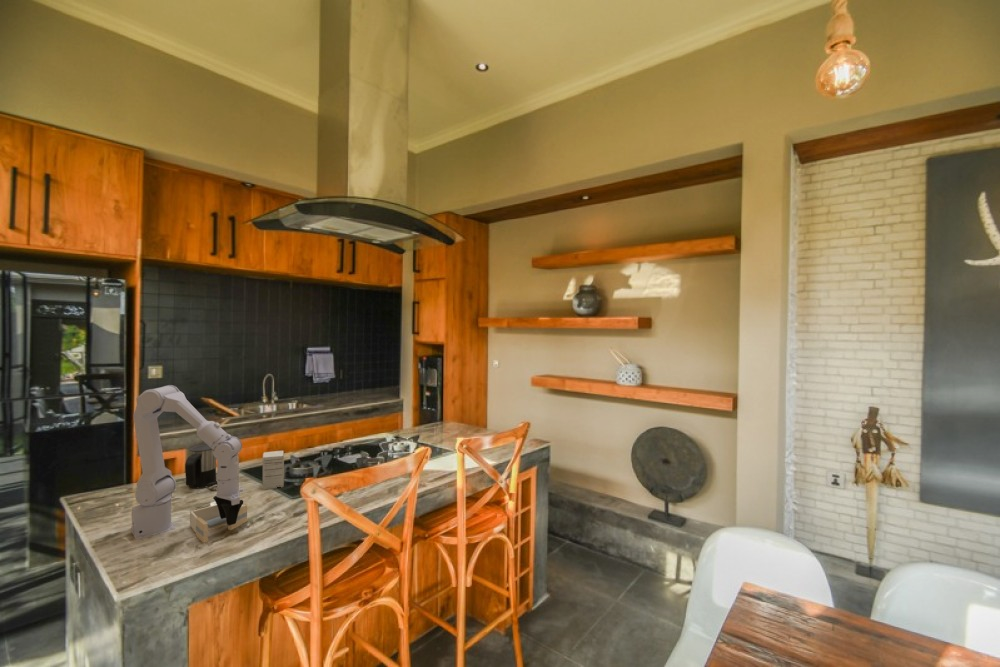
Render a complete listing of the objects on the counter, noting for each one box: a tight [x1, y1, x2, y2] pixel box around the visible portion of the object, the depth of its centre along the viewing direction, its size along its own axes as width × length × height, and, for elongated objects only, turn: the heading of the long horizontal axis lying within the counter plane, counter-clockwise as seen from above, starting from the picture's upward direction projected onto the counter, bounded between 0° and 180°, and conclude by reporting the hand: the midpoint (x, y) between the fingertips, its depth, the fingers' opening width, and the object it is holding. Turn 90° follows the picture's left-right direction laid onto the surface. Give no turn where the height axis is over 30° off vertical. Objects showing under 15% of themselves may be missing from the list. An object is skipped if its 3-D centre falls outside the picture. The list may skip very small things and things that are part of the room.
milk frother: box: [184, 443, 217, 489], centre depth 171 cm, size 14×16×15 cm
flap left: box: [195, 517, 209, 544], centre depth 129 cm, size 7×1×6 cm, turn 51°
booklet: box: [205, 517, 226, 528], centre depth 139 cm, size 6×4×1 cm
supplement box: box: [262, 450, 285, 491], centre depth 172 cm, size 7×7×13 cm
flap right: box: [227, 503, 248, 531], centre depth 138 cm, size 7×1×6 cm, turn 166°
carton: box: [189, 503, 244, 533], centre depth 139 cm, size 13×8×5 cm, turn 138°
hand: (228, 521), depth 137 cm, fingers open, 6 cm apart
